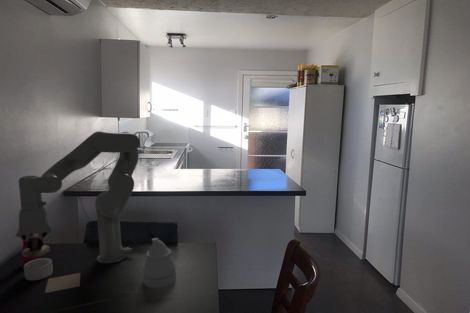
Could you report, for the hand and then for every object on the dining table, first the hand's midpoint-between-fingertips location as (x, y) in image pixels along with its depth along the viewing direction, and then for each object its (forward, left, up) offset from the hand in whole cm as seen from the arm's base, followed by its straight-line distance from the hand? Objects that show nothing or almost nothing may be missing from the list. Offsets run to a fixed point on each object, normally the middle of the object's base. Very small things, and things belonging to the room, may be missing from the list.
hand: (35, 248), depth 144 cm
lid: (0, 0, -2) cm, 2 cm away
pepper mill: (+5, -14, -12) cm, 19 cm away
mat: (-10, +12, -12) cm, 20 cm away
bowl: (0, 0, -12) cm, 12 cm away
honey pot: (-46, +25, -12) cm, 54 cm away
